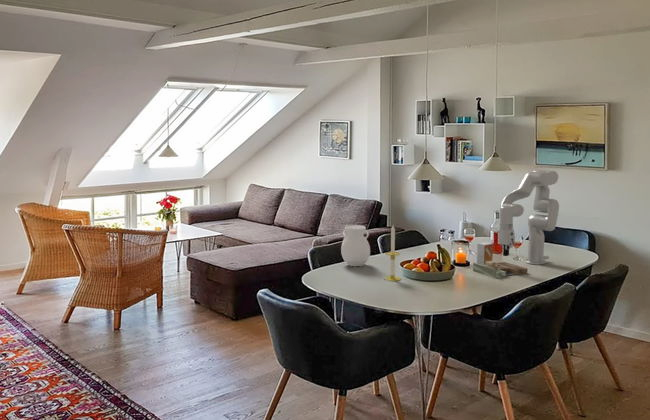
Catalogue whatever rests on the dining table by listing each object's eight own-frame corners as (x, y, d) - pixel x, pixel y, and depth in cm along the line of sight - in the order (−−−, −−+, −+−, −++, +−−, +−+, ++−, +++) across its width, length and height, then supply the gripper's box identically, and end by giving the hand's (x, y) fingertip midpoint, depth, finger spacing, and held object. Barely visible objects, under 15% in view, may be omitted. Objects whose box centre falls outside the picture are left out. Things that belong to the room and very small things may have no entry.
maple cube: (491, 267, 391) (492, 260, 391) (497, 268, 387) (497, 262, 386) (485, 268, 389) (485, 261, 388) (490, 269, 385) (491, 263, 384)
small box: (483, 264, 410) (484, 244, 408) (476, 263, 415) (477, 243, 413) (492, 263, 414) (493, 243, 412) (485, 261, 420) (485, 241, 418)
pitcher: (336, 267, 405) (336, 228, 402) (346, 261, 422) (346, 223, 419) (364, 269, 398) (364, 230, 395) (373, 263, 415) (374, 225, 412)
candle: (396, 282, 369) (397, 226, 364) (380, 279, 374) (381, 224, 369) (403, 278, 377) (404, 223, 372) (388, 276, 382) (389, 222, 378)
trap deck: (504, 266, 405) (504, 258, 405) (527, 273, 388) (527, 265, 387) (472, 270, 394) (473, 262, 394) (494, 278, 377) (495, 269, 376)
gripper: (519, 227, 384) (519, 257, 387) (502, 223, 397) (502, 252, 400) (510, 229, 380) (509, 259, 384) (493, 224, 394) (493, 253, 397)
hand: (506, 255), depth 392 cm, fingers closed
